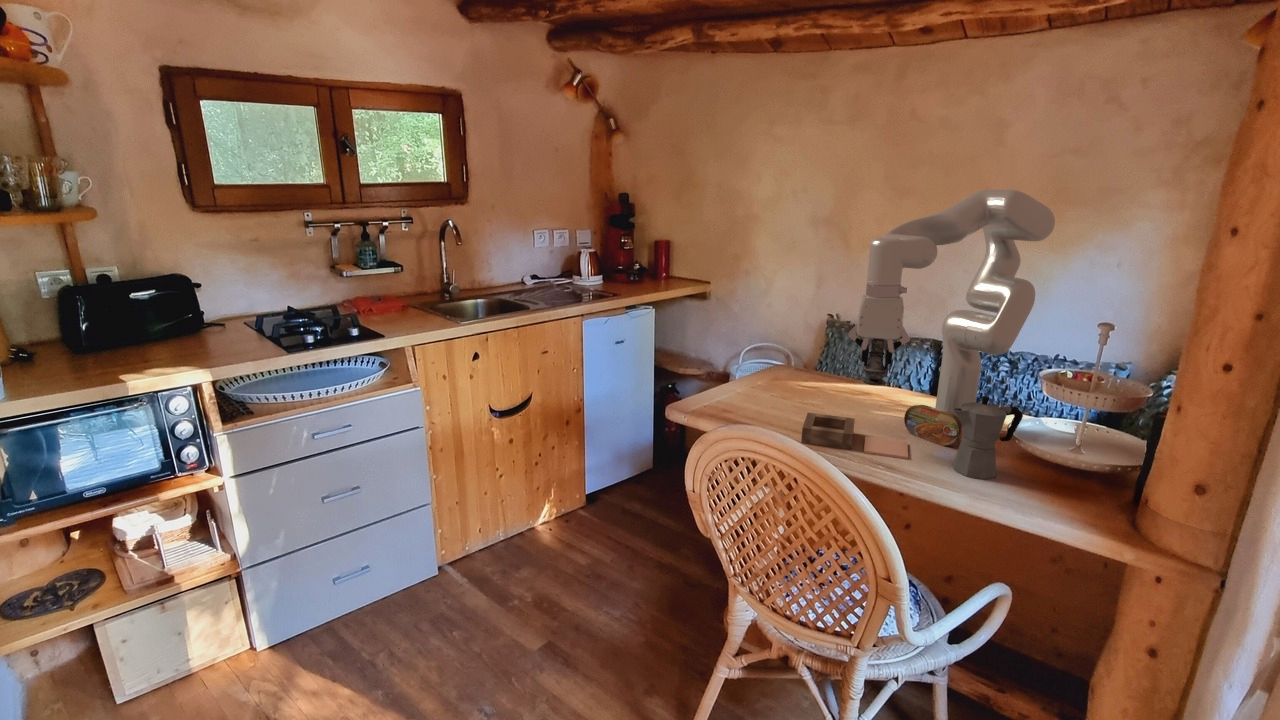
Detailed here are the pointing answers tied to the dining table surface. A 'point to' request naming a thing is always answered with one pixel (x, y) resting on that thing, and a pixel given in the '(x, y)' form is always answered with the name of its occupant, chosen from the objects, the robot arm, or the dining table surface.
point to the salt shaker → (875, 364)
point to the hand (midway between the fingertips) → (876, 365)
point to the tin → (933, 424)
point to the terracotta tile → (886, 447)
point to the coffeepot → (982, 437)
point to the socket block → (828, 430)
